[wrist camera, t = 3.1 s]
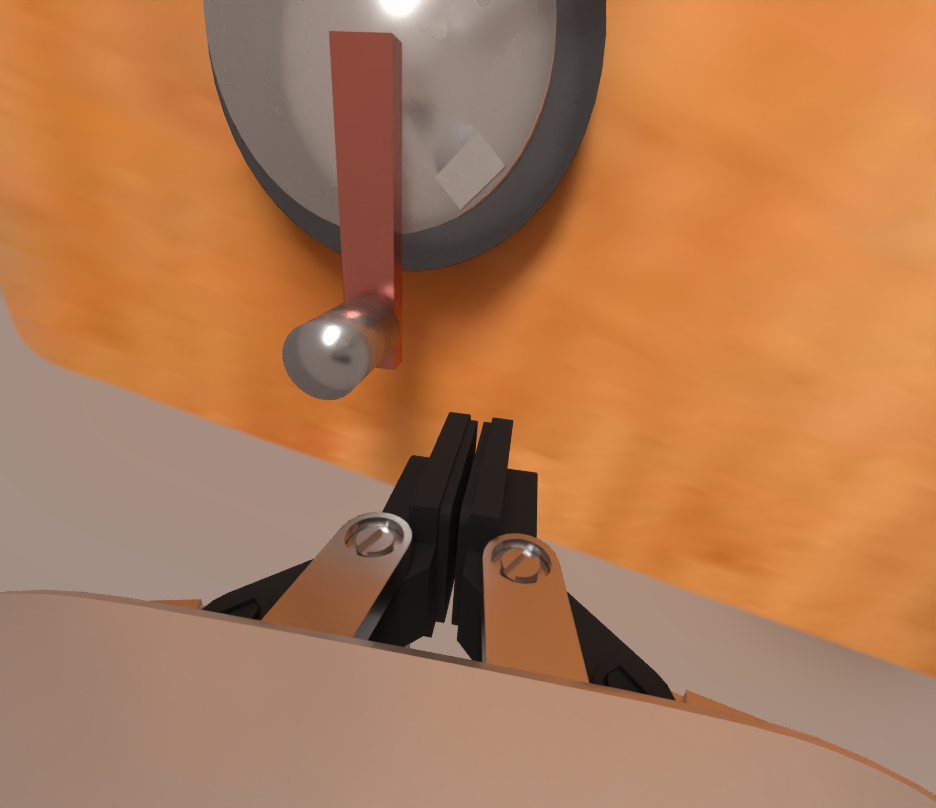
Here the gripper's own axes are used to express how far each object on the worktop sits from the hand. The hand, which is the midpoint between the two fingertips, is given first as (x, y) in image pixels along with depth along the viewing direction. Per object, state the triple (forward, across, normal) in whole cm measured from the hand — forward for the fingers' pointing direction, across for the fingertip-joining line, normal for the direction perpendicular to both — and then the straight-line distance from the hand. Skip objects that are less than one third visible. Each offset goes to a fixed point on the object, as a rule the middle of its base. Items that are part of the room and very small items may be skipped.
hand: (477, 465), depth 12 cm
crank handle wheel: (+13, +6, -9) cm, 17 cm away
